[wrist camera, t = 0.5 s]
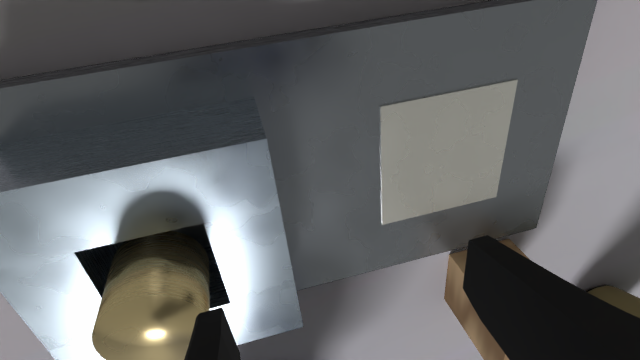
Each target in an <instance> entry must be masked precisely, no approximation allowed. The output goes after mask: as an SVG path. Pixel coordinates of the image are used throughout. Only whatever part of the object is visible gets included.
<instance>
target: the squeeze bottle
mask: <svg viewBox="0 0 640 360" xmlns="http://www.w3.org/2000/svg"><path fill="white" fill-rule="evenodd" d="M588 293H589V294H591V295H593V296H595V297H597V298H599V299H601V300H603V301H605V302H607V303H609V304H611V305H613V306H615V307H617V308H619V309H621V310H623V311H625V312H627V313H630V314H632V315H634V316H636V317H639V318H640V298H638V297H636V296H633V295H631V294H629V293H627V292H625V291H623V290H621V289H619V288H616V287H613V286H608V285H607V286H602V287H597V288H595V289H593V290H590V291H588Z"/></svg>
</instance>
